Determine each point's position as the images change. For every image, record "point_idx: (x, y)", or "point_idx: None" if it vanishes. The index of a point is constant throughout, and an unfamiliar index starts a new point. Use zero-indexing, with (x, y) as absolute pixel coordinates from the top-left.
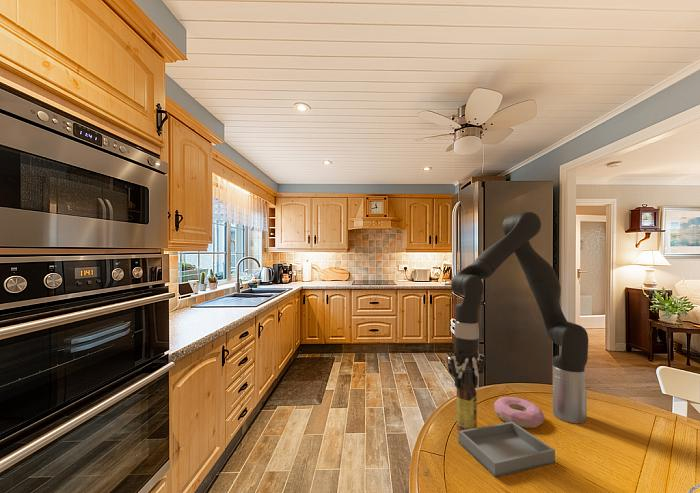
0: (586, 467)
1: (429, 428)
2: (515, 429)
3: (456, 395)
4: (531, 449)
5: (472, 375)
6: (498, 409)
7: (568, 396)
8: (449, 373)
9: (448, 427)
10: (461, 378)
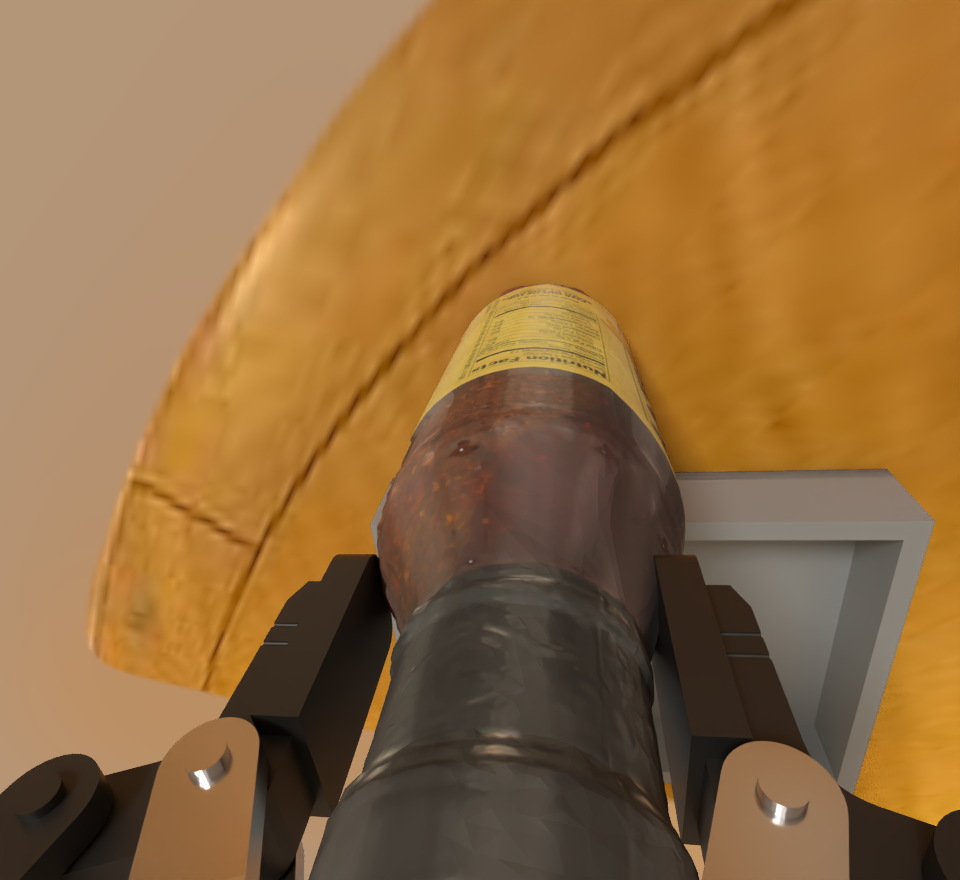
0: (953, 777)
1: (244, 277)
2: (879, 549)
3: (419, 422)
4: (800, 651)
5: (686, 787)
6: None
7: None
8: (30, 779)
9: (407, 295)
10: (323, 816)
